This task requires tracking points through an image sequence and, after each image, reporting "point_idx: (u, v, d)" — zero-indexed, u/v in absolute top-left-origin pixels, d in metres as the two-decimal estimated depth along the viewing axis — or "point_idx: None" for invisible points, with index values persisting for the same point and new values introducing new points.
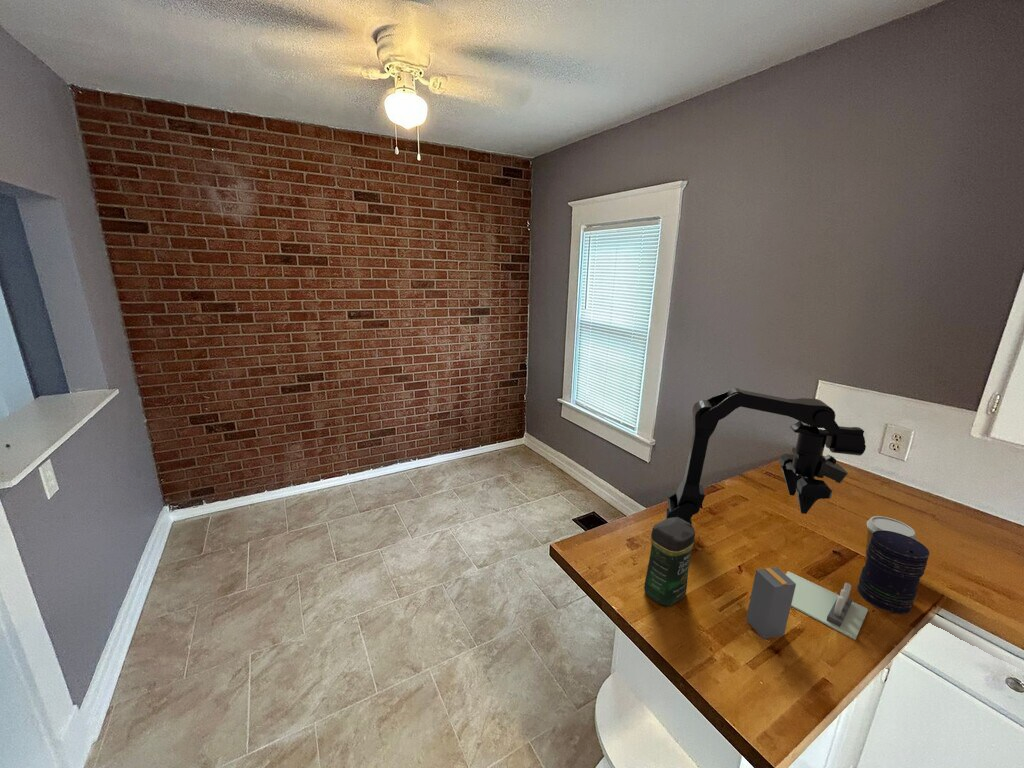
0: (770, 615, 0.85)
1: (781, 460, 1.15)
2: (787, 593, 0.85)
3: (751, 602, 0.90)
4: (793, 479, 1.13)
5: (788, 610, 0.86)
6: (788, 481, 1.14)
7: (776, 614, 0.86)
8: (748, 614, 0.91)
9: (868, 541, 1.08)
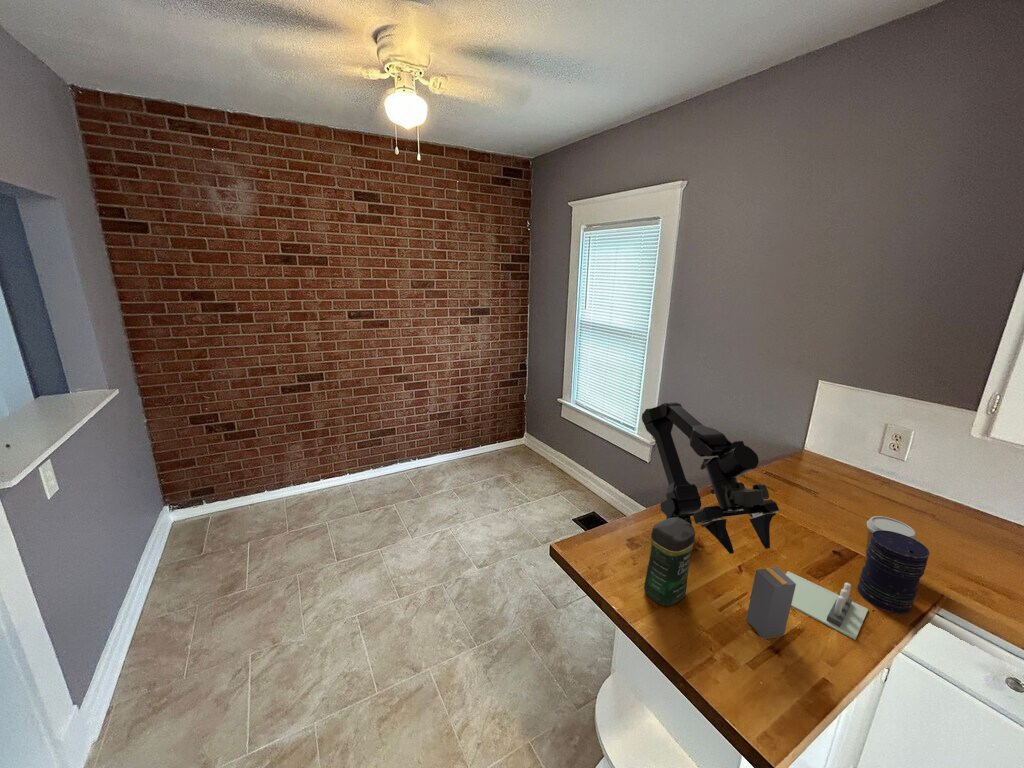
0: (770, 615, 0.85)
1: None
2: (787, 593, 0.85)
3: (751, 602, 0.90)
4: (759, 527, 0.97)
5: (788, 610, 0.86)
6: (757, 531, 0.97)
7: (776, 614, 0.86)
8: (748, 614, 0.91)
9: (868, 541, 1.08)
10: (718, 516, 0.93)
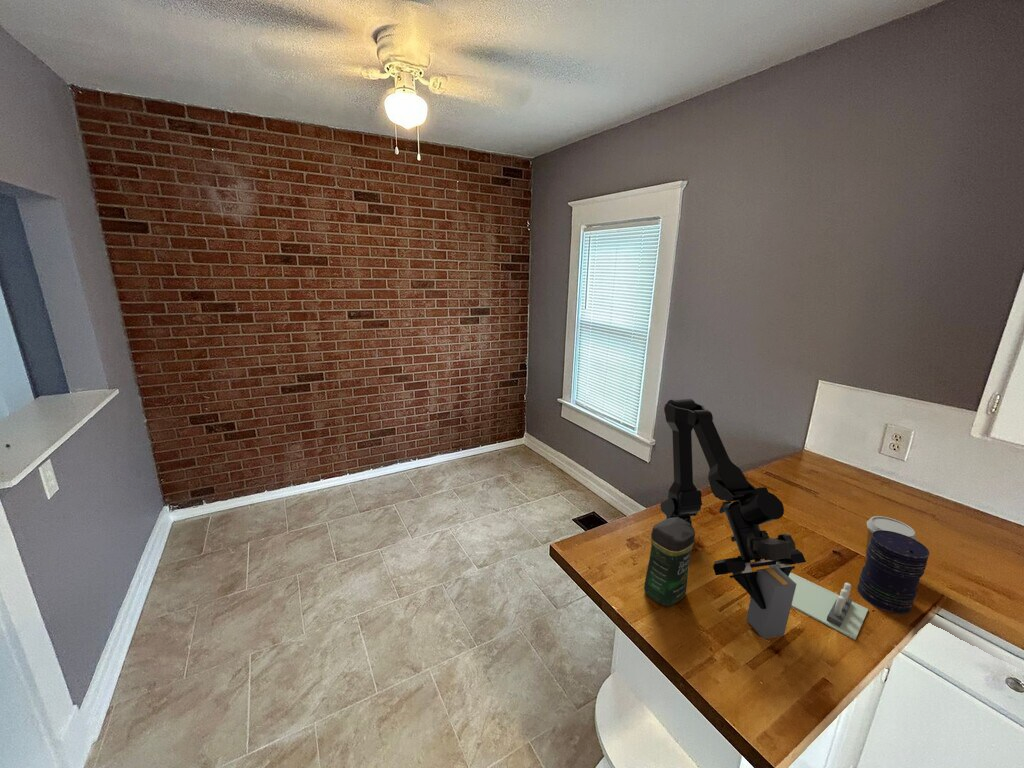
0: (771, 615, 0.85)
1: None
2: (787, 593, 0.85)
3: (751, 602, 0.90)
4: None
5: (788, 610, 0.86)
6: None
7: (776, 614, 0.86)
8: (748, 614, 0.91)
9: (868, 541, 1.08)
10: (740, 569, 0.86)
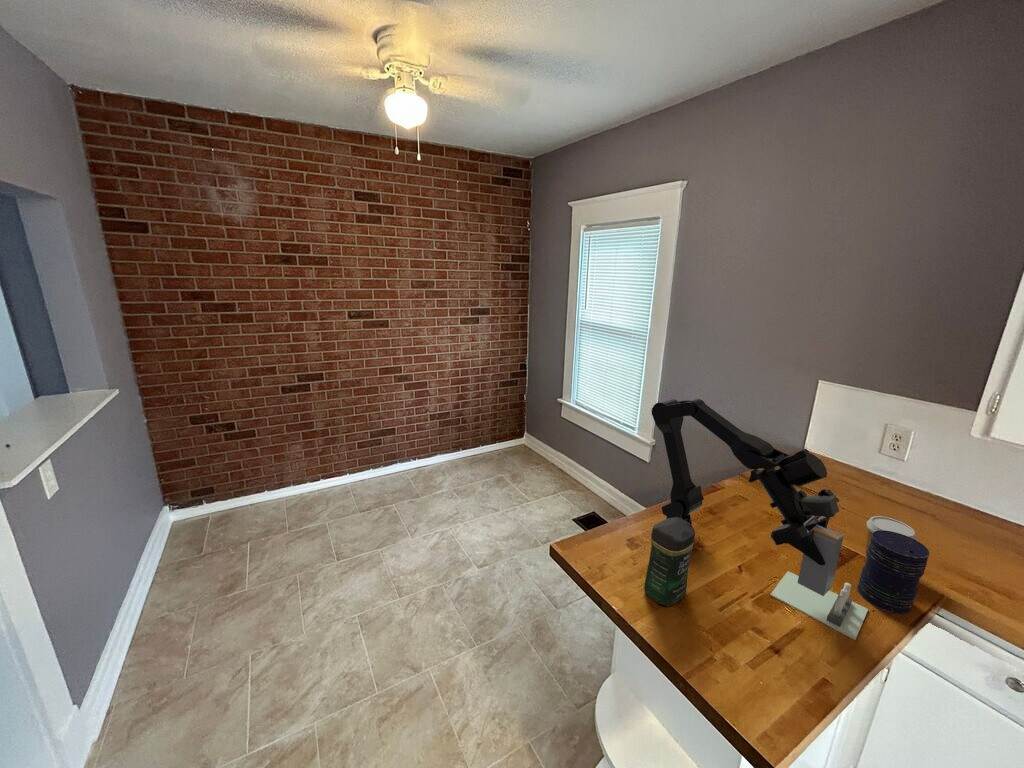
0: (829, 571, 0.89)
1: None
2: (839, 546, 0.89)
3: (803, 564, 0.93)
4: None
5: (837, 562, 0.91)
6: None
7: (832, 569, 0.90)
8: (800, 577, 0.93)
9: (868, 541, 1.08)
10: (805, 533, 0.87)
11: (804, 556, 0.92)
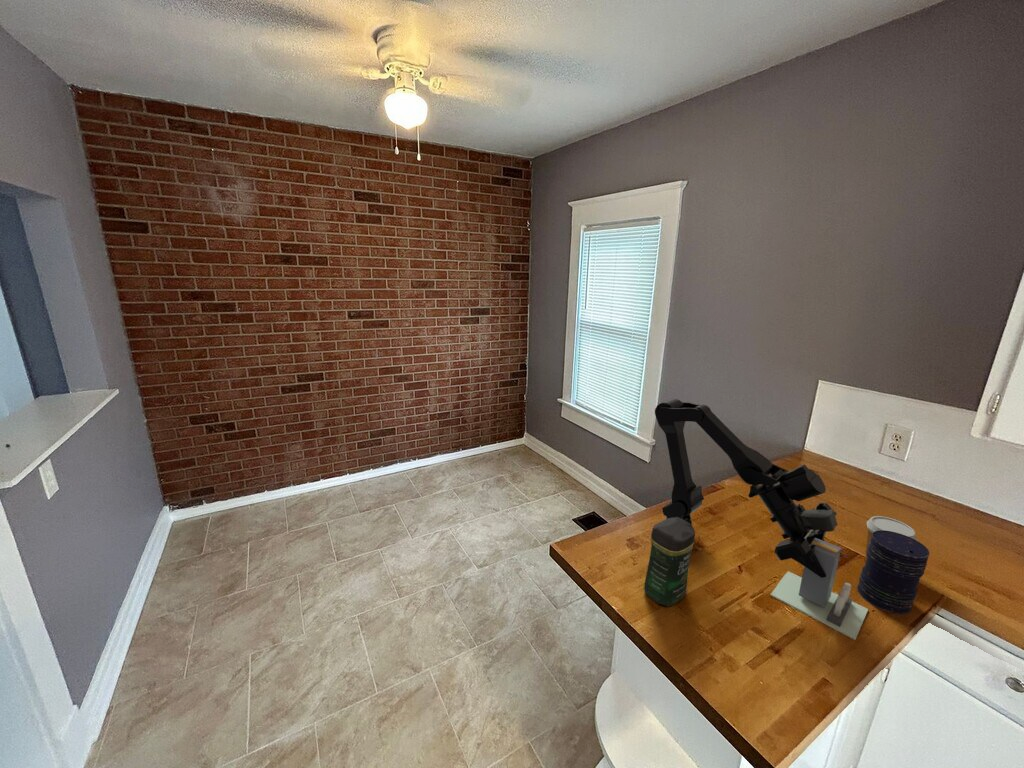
0: (830, 583, 0.92)
1: None
2: (837, 558, 0.93)
3: (804, 577, 0.95)
4: None
5: (835, 573, 0.95)
6: None
7: (831, 581, 0.93)
8: (801, 589, 0.96)
9: (868, 541, 1.08)
10: (808, 548, 0.90)
11: (805, 569, 0.95)
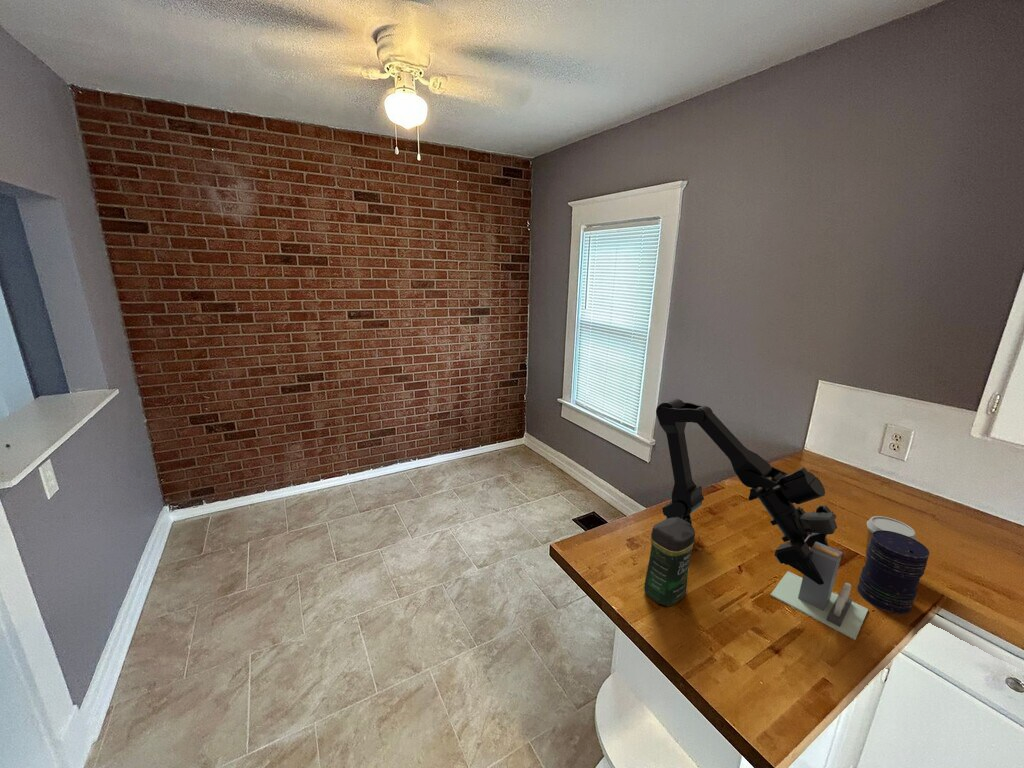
0: (830, 587, 0.92)
1: None
2: (838, 563, 0.93)
3: (804, 581, 0.95)
4: None
5: (835, 577, 0.95)
6: None
7: (831, 585, 0.93)
8: (801, 592, 0.97)
9: (868, 541, 1.08)
10: (808, 551, 0.90)
11: None
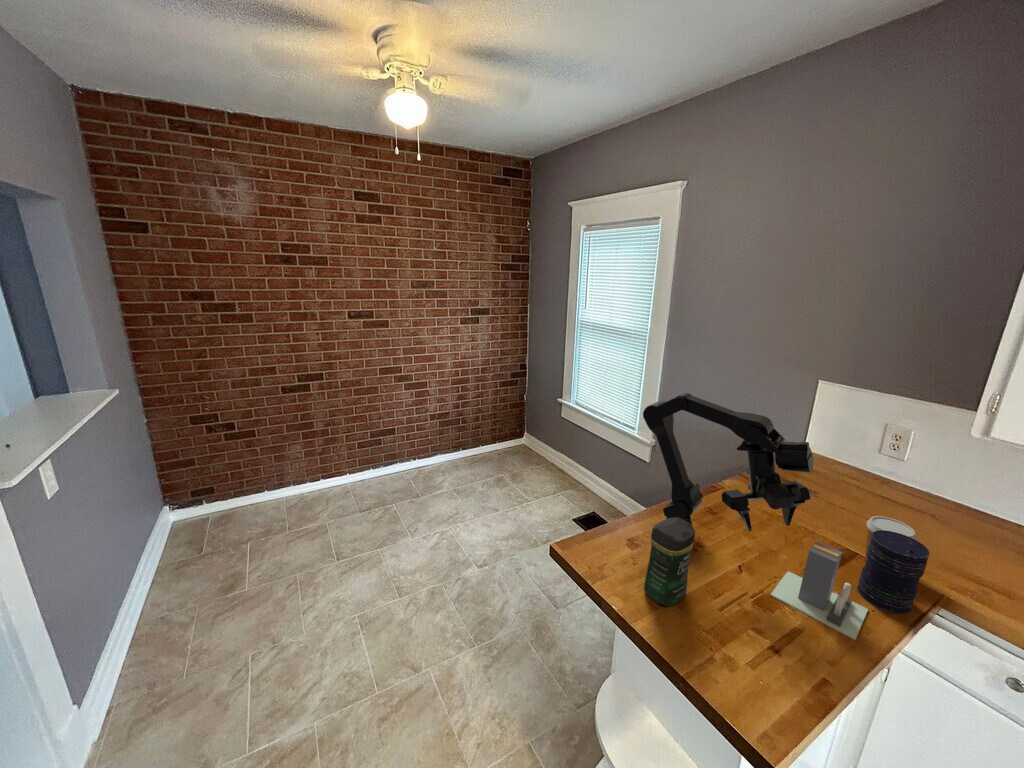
0: (830, 587, 0.92)
1: None
2: (838, 563, 0.93)
3: (804, 581, 0.95)
4: (785, 507, 1.03)
5: (835, 577, 0.95)
6: (782, 508, 1.05)
7: (831, 585, 0.93)
8: (801, 592, 0.97)
9: (868, 541, 1.08)
10: (743, 507, 1.01)
11: (805, 573, 0.95)
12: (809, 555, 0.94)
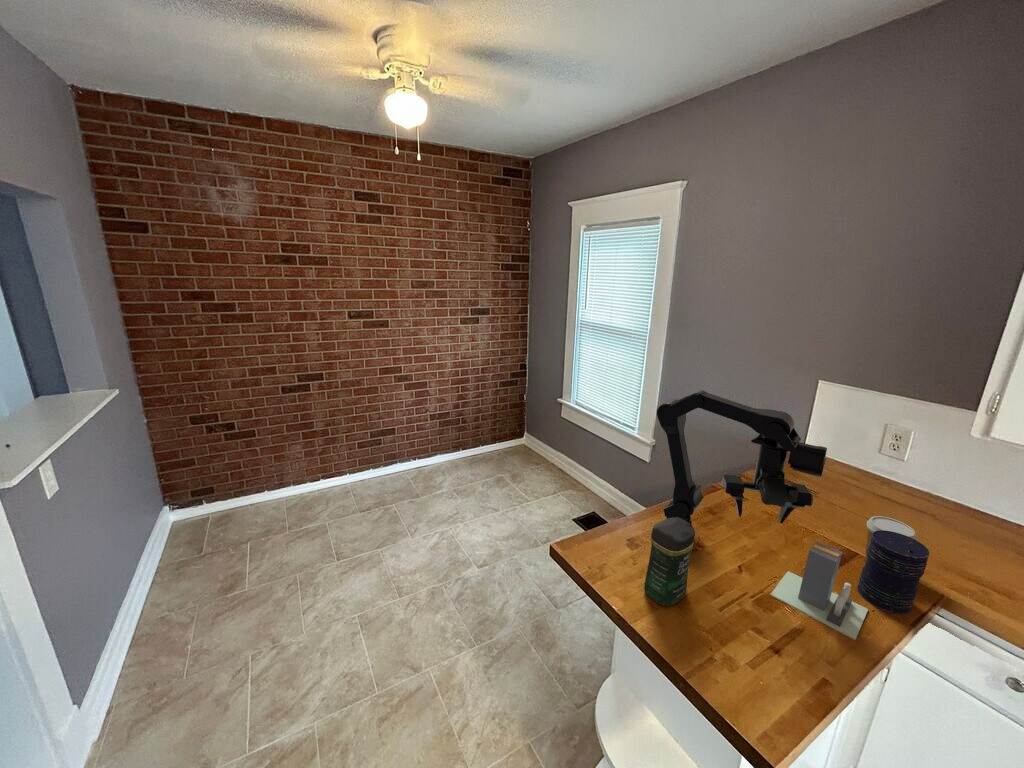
0: (830, 587, 0.92)
1: None
2: (838, 563, 0.93)
3: (804, 581, 0.95)
4: (784, 505, 1.03)
5: (835, 577, 0.95)
6: None
7: (831, 585, 0.93)
8: (801, 592, 0.97)
9: (868, 541, 1.08)
10: (736, 494, 1.03)
11: (805, 573, 0.95)
12: (809, 555, 0.94)
